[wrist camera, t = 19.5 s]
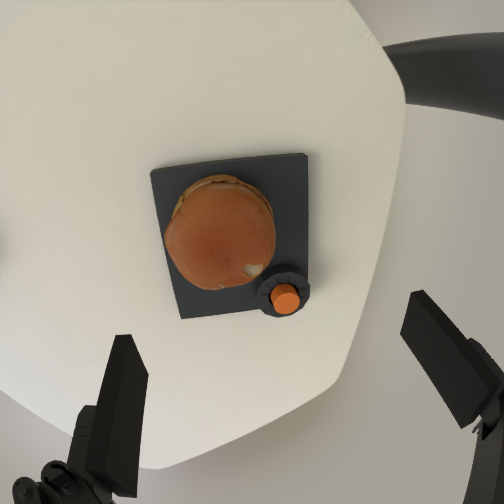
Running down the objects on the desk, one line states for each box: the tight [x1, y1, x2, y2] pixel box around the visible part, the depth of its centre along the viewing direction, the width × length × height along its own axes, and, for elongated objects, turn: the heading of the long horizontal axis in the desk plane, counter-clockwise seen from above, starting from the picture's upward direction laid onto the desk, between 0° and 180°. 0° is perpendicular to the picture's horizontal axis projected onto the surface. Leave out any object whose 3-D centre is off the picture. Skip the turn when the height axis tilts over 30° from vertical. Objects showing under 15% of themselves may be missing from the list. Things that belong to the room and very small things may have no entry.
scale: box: [150, 153, 310, 319], centre depth 30 cm, size 14×16×3 cm
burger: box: [164, 174, 276, 290], centre depth 26 cm, size 10×9×5 cm
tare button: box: [271, 283, 300, 314], centre depth 31 cm, size 3×3×2 cm
